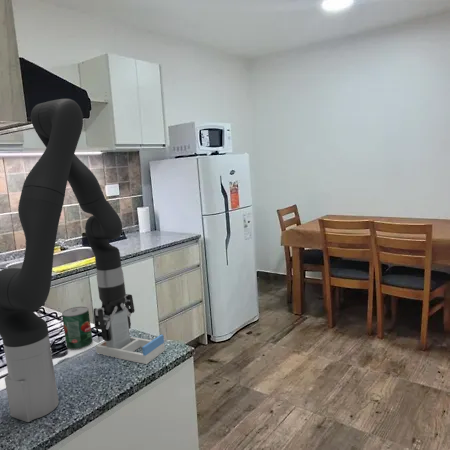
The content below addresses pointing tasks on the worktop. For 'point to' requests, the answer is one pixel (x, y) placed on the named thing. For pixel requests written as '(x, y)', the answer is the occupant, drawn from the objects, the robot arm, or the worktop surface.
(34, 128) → the robot arm
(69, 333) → the canned tomato
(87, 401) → the worktop surface
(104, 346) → the two-compartment tray
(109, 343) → the skincare box
